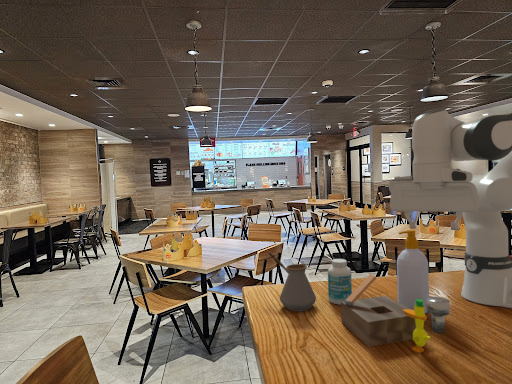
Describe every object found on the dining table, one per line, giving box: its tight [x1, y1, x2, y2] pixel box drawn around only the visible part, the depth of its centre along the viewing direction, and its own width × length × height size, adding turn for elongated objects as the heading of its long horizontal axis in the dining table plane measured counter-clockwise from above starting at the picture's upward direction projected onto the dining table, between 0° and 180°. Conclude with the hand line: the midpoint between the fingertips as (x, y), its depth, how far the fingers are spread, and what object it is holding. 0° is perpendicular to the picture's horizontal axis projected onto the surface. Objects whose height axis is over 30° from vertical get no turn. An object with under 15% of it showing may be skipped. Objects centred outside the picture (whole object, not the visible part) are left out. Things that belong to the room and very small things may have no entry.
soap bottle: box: [396, 229, 430, 314], centre depth 102 cm, size 9×9×24 cm
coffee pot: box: [266, 252, 317, 312], centre depth 113 cm, size 21×12×15 cm, turn 32°
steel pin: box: [426, 296, 451, 334], centre depth 88 cm, size 5×5×8 cm
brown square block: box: [340, 295, 416, 347], centre depth 90 cm, size 14×14×6 cm
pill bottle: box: [327, 258, 353, 306], centre depth 111 cm, size 8×7×14 cm
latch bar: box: [344, 273, 377, 307], centre depth 93 cm, size 11×3×1 cm
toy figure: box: [403, 299, 431, 354], centre depth 79 cm, size 7×4×12 cm, turn 32°
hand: (432, 229), depth 88 cm, fingers open, 8 cm apart
